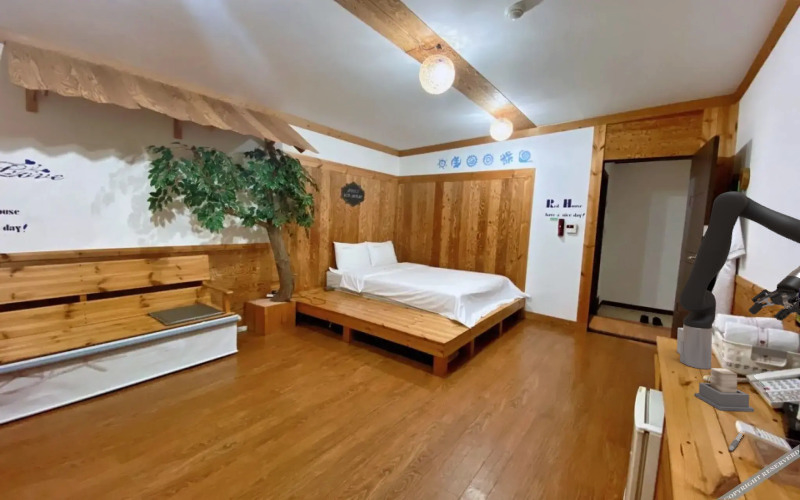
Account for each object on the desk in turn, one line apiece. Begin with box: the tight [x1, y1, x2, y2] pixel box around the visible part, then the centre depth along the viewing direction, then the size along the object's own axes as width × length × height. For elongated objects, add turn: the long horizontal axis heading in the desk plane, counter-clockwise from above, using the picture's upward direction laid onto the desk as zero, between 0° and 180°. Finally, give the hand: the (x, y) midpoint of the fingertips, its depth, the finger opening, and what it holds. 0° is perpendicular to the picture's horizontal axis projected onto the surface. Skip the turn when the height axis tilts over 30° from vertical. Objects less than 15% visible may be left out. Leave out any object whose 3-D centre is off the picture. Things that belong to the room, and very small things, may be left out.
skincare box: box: [676, 327, 683, 355], centre depth 155 cm, size 6×4×12 cm
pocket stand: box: [694, 382, 755, 413], centre depth 109 cm, size 10×10×5 cm
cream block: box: [710, 367, 738, 393], centre depth 109 cm, size 4×4×10 cm
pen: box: [728, 432, 743, 452], centre depth 88 cm, size 1×14×1 cm, turn 124°
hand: (763, 315), depth 112 cm, fingers open, 8 cm apart
